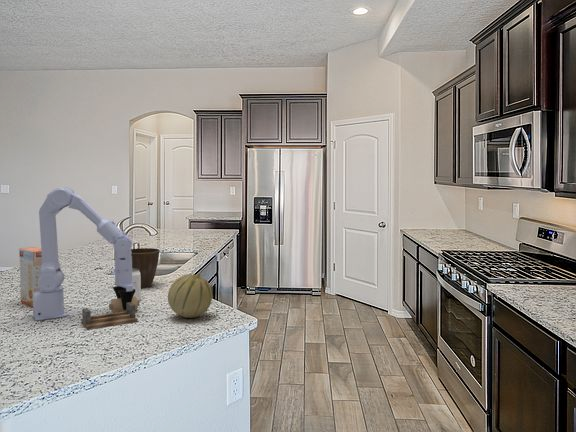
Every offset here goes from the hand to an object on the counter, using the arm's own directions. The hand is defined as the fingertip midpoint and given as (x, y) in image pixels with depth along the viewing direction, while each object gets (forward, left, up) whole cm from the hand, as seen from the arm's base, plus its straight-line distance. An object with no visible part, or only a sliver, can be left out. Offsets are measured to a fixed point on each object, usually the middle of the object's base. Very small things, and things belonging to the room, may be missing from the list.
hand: (124, 307), depth 170 cm
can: (+7, +15, -2) cm, 17 cm away
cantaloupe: (+17, -19, -2) cm, 26 cm away
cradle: (-8, -10, -1) cm, 13 cm away
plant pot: (+18, +38, -2) cm, 42 cm away
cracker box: (-25, +30, -2) cm, 39 cm away
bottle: (0, 0, -1) cm, 1 cm away
